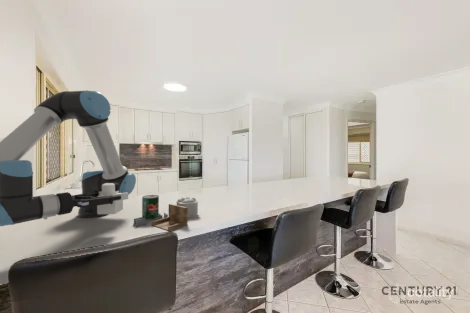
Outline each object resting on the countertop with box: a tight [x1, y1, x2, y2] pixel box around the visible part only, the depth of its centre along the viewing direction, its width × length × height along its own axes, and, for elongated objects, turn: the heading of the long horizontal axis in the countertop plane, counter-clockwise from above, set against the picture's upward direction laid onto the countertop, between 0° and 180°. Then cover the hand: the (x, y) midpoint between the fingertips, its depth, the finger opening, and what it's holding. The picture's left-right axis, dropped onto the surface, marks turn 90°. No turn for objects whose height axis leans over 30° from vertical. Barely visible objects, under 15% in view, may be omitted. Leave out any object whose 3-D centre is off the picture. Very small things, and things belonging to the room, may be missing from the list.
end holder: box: [151, 203, 189, 232], centre depth 98 cm, size 12×10×8 cm
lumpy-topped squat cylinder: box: [176, 196, 199, 218], centre depth 117 cm, size 10×13×9 cm
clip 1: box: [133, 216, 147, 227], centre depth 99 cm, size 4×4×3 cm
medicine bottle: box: [97, 183, 124, 215], centre depth 89 cm, size 7×7×12 cm
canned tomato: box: [141, 194, 160, 221], centre depth 109 cm, size 8×8×11 cm
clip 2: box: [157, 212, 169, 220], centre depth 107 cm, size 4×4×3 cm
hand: (121, 194), depth 93 cm, fingers closed on medicine bottle, 10 cm apart
